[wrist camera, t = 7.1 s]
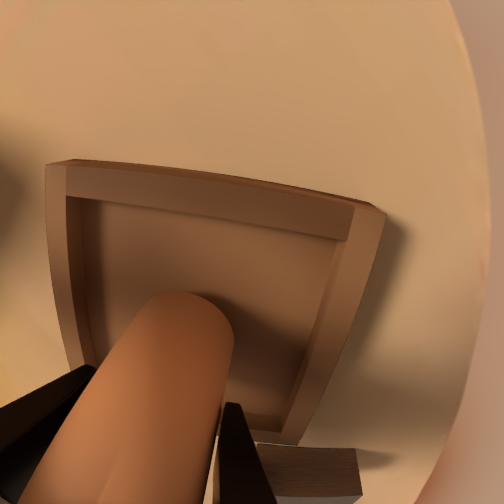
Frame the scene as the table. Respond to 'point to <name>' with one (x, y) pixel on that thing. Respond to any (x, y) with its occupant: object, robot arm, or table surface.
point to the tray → (214, 272)
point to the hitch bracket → (311, 474)
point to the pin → (144, 413)
